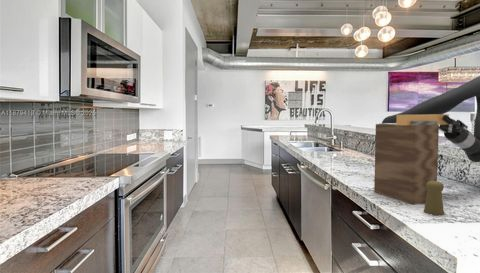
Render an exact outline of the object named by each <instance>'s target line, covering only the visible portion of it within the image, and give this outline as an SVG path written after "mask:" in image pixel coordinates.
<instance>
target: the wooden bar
mask: <svg viewBox="0 0 480 273" xmlns="http://www.w3.org/2000/svg"><path fill="white" fill-rule="evenodd" d="M444 115H447V116H448V117H450V114H448V113H444V114H429V115H397V120H396V125H411V121H437V125H439V126H440V125H443V124H447V123H446V122H445V121H443V120H442V118H443V116H444Z"/></svg>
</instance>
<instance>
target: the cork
mask: <svg viewBox="0 0 480 273" xmlns="http://www.w3.org/2000/svg"><path fill="white" fill-rule="evenodd" d="M426 188H427V190H428V191H427V197H426V202H425V203H424V209H423V213H425V214H427V213H428V215H430V214H432V215H431V216H439V215H440V216H444V215H445V211H444V210H445V209H444V201H443V193H442V192H443V191H444V189H445V186H444V184H443V183H442V181H438V180H437V181H429V182H427V183H426Z"/></svg>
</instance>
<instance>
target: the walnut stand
mask: <svg viewBox="0 0 480 273" xmlns="http://www.w3.org/2000/svg"><path fill="white" fill-rule="evenodd" d="M439 126H440V125H437V121H411V125H396V123H382V122H381V123H376V124H375V135H374V136H375V137H374V138H375V139H374V140H375V141H374V142H375V144H374V147H375V148H374V186H373V187H374V190H373V193H376V194H379V195H382V196H385V197H388V198H391V199H395V200H398V201H400V202H403V203H406V204H409V205H419V204H425V202H426V197H427V191H428V190H427V188H426V183H427V182H429V181H438V162H439V138H440V137H439V136H440V135H439V133H440V132H439V131H440V130H439Z"/></svg>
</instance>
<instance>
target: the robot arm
mask: <svg viewBox="0 0 480 273" xmlns="http://www.w3.org/2000/svg"><path fill="white" fill-rule="evenodd" d="M474 97H475V100H476V113H475V119H474V124H473V133H472V132H471V131H470V130H469V129H468V127H469V126H468V125H467V124H465V123H464V122H463V121H462V120H460V119H456V120H455V119H454V118H451V117H450V116H449V117H448V116H447V115H444V116H443V118H442V120H443V121H445V122H446V123H447V124H443V125H439V131H440V132H442V133H443V135H444V136H443V137H444V138H445V139H446V140H448V141H449V142H451V143H452V144H453V145H454V146H456V147H458V148H459V149H461V150H462V151H464V154H465V155H466V157H467V158H468V160H469V161H470V162H473V163H480V75H479V76H475V78H473V79H471V80H469V81H467V82H465V83H463V84H462V85H460V86H457V87H455V88H452V89H449V90H447V91H445V92H443V93H441V94H439V95H436V96H434V97H431V98H429V99H428V98H427V99H426V100H424V101H422V102H421V103H418V104H416V105H414V106H413V107H411V108H410V109H407V110H404V111H402V112H399V113H396V114H393V115H388V116H385V117H384V119H382V121H381V124H382V123H396V120H397V115H429V114H448V112H450V111H451V110H453V109H455V108H456V107H457V106H458V105H459V106H460V104H462V103H464V102H465V101H467V100H469V99H472V98H474Z"/></svg>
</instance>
